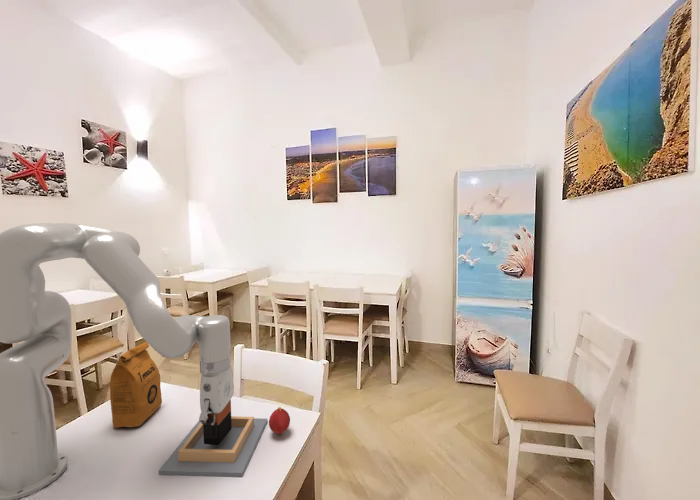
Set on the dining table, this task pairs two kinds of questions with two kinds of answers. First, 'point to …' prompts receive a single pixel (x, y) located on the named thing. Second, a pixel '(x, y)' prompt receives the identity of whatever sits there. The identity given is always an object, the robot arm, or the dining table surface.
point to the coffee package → (134, 388)
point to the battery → (221, 425)
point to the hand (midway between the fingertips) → (217, 427)
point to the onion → (279, 421)
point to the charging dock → (216, 451)
